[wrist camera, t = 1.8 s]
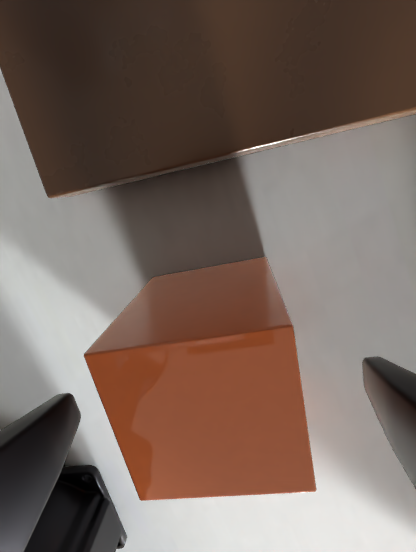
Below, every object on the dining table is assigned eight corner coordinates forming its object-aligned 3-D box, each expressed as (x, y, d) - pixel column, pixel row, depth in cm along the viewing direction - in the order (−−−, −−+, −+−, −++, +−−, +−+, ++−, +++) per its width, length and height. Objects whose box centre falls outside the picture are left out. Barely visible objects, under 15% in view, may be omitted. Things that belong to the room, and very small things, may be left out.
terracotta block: (179, 371, 14) (139, 501, 8) (152, 276, 13) (82, 354, 7) (282, 359, 13) (317, 492, 8) (266, 256, 12) (293, 324, 6)
